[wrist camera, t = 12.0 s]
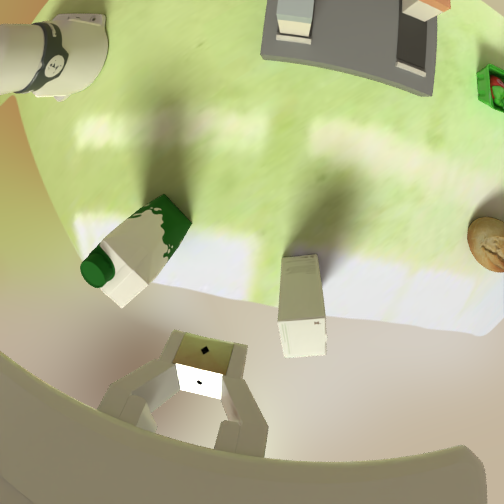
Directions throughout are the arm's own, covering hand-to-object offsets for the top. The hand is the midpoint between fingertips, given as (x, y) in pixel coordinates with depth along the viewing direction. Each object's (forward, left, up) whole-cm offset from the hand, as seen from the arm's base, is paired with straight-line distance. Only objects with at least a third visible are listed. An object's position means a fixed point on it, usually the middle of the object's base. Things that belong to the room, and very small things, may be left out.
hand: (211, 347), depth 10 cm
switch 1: (-10, +18, -30) cm, 36 cm away
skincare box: (+16, -12, -34) cm, 40 cm away
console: (-5, +26, -34) cm, 43 cm away
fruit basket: (+20, +38, -34) cm, 55 cm away
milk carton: (-9, -19, -34) cm, 40 cm away
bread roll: (+40, +19, -34) cm, 56 cm away
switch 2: (0, +34, -30) cm, 45 cm away
